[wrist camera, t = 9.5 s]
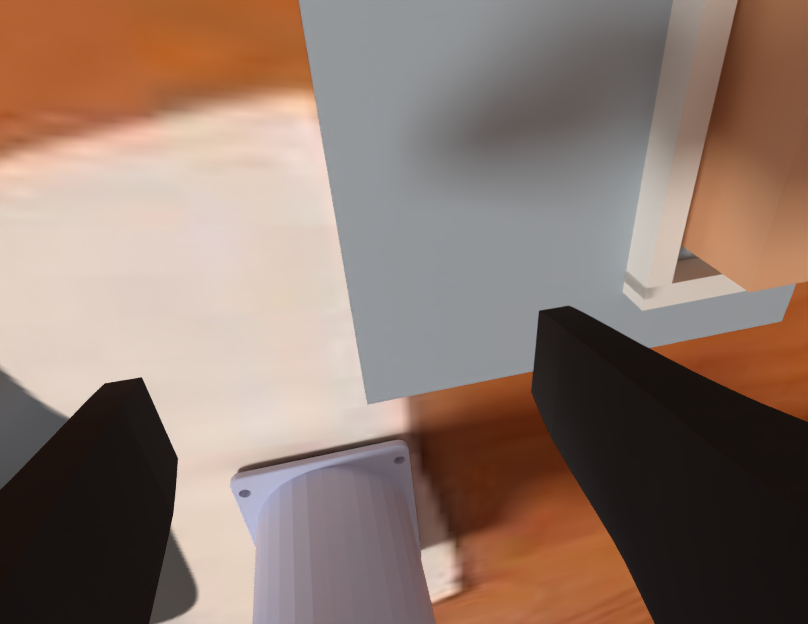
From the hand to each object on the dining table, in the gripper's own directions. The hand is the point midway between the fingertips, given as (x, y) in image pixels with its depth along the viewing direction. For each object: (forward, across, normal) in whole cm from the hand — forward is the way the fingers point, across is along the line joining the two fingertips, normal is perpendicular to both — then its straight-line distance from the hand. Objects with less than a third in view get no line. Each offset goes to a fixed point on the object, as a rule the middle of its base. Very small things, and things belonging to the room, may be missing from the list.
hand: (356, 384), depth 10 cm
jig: (+9, -10, -1) cm, 14 cm away
